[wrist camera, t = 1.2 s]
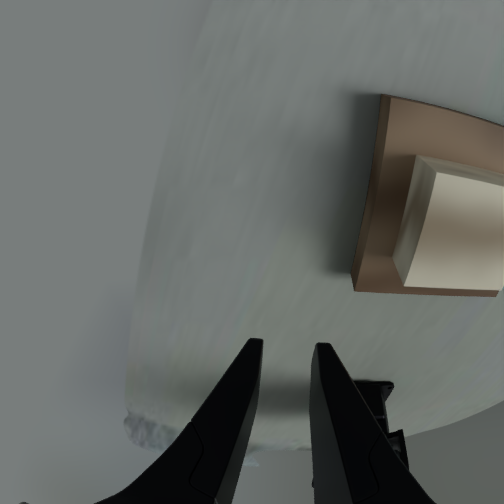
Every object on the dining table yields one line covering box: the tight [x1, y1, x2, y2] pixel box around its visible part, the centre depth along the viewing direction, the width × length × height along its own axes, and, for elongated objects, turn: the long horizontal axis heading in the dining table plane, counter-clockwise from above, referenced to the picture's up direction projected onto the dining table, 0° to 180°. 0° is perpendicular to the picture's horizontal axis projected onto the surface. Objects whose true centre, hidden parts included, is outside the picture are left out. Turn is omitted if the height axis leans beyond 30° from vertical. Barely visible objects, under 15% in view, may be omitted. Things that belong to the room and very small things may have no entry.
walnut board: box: [351, 94, 504, 297], centre depth 18 cm, size 13×13×2 cm
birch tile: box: [392, 155, 504, 290], centre depth 16 cm, size 7×8×3 cm
